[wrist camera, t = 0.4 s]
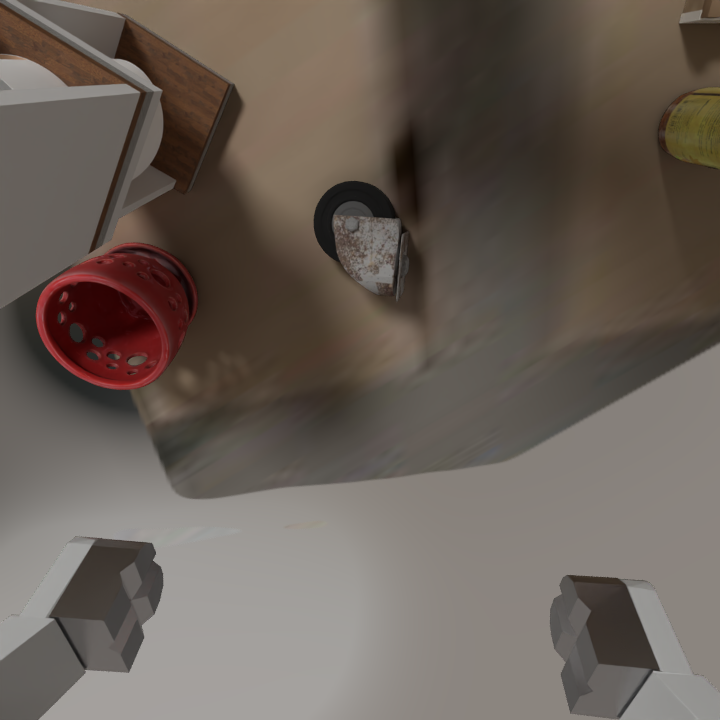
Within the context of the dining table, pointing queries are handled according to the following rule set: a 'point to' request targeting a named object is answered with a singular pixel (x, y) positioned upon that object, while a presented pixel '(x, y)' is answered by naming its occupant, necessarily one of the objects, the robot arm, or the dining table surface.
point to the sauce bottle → (693, 128)
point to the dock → (701, 11)
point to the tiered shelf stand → (90, 130)
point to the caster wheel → (363, 236)
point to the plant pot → (119, 314)
